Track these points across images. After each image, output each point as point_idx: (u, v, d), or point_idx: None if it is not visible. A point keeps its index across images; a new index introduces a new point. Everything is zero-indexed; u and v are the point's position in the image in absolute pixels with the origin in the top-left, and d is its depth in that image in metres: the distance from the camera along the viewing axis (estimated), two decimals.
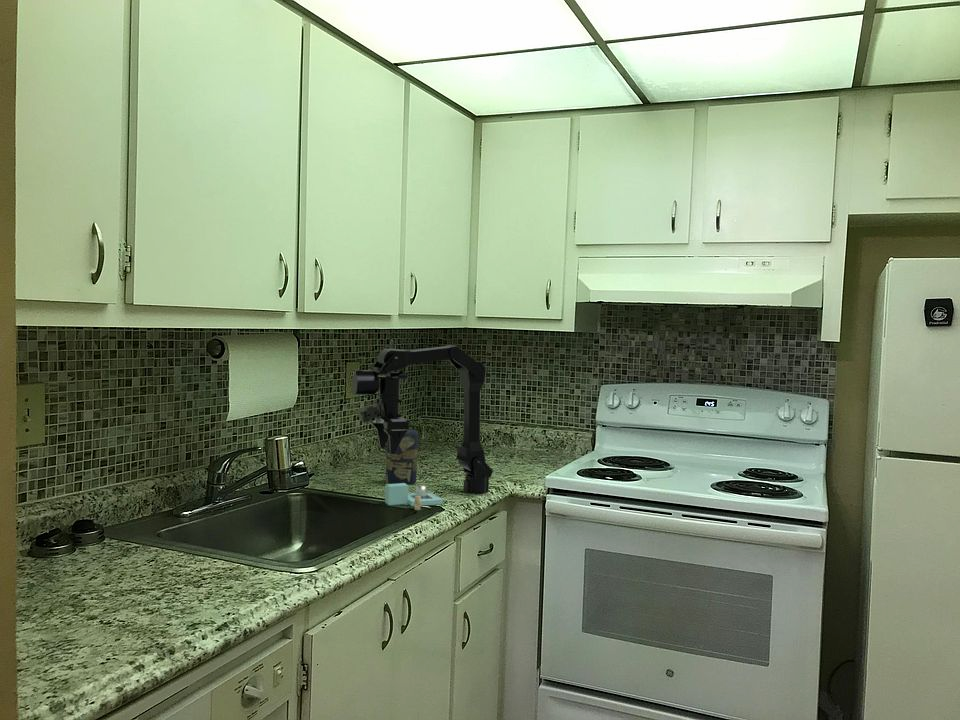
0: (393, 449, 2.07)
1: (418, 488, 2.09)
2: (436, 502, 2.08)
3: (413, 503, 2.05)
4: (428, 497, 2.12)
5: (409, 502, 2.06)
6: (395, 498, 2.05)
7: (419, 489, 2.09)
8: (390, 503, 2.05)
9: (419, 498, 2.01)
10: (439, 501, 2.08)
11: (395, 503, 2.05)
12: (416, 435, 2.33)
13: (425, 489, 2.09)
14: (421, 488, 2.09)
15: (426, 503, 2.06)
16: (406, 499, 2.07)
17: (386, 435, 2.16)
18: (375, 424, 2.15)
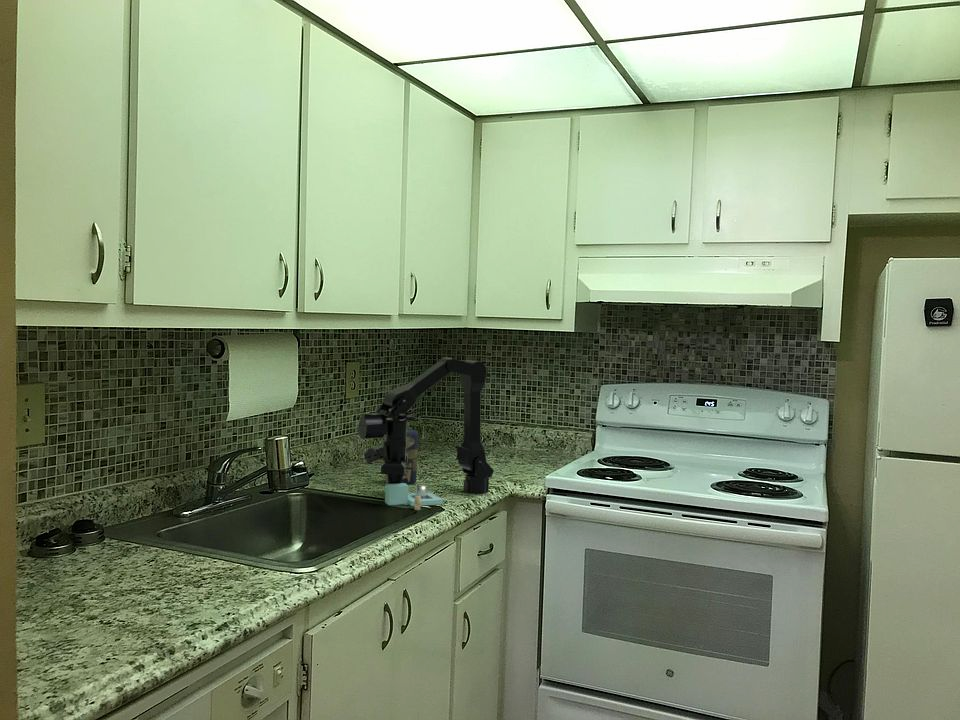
0: None
1: (418, 488, 2.09)
2: (436, 502, 2.08)
3: (413, 503, 2.05)
4: (428, 497, 2.12)
5: (409, 502, 2.06)
6: (395, 498, 2.05)
7: (419, 489, 2.09)
8: (390, 503, 2.05)
9: (419, 498, 2.01)
10: (439, 501, 2.08)
11: (395, 503, 2.05)
12: (416, 435, 2.33)
13: (425, 489, 2.09)
14: (421, 488, 2.09)
15: (426, 503, 2.06)
16: (406, 499, 2.07)
17: None
18: None
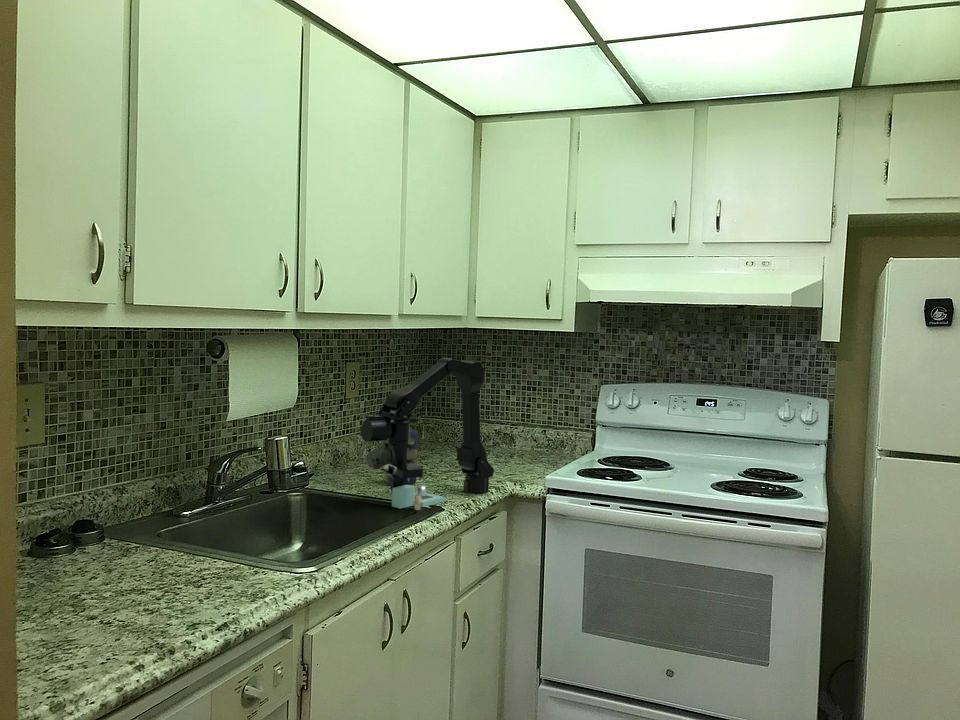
0: None
1: (418, 488, 2.09)
2: (439, 500, 2.10)
3: (423, 504, 2.04)
4: None
5: None
6: (404, 500, 2.03)
7: (419, 489, 2.09)
8: (401, 506, 2.02)
9: (419, 498, 2.01)
10: (442, 499, 2.11)
11: (405, 506, 2.03)
12: (416, 435, 2.33)
13: (425, 489, 2.09)
14: (421, 488, 2.09)
15: (432, 502, 2.07)
16: (413, 500, 2.06)
17: None
18: (388, 472, 2.05)
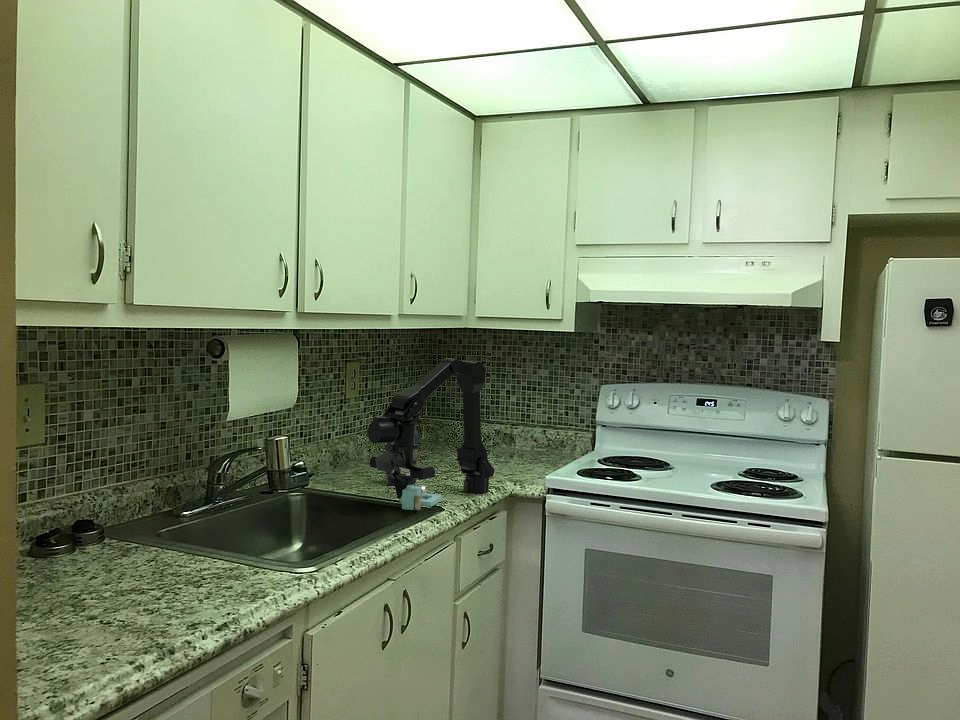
0: (400, 493, 2.04)
1: None
2: (439, 499, 2.12)
3: (431, 503, 2.05)
4: None
5: (424, 503, 2.05)
6: None
7: None
8: (413, 507, 2.01)
9: (419, 498, 2.01)
10: (441, 497, 2.13)
11: None
12: (416, 435, 2.33)
13: (425, 489, 2.09)
14: (421, 488, 2.09)
15: (436, 501, 2.09)
16: None
17: None
18: (394, 474, 2.03)
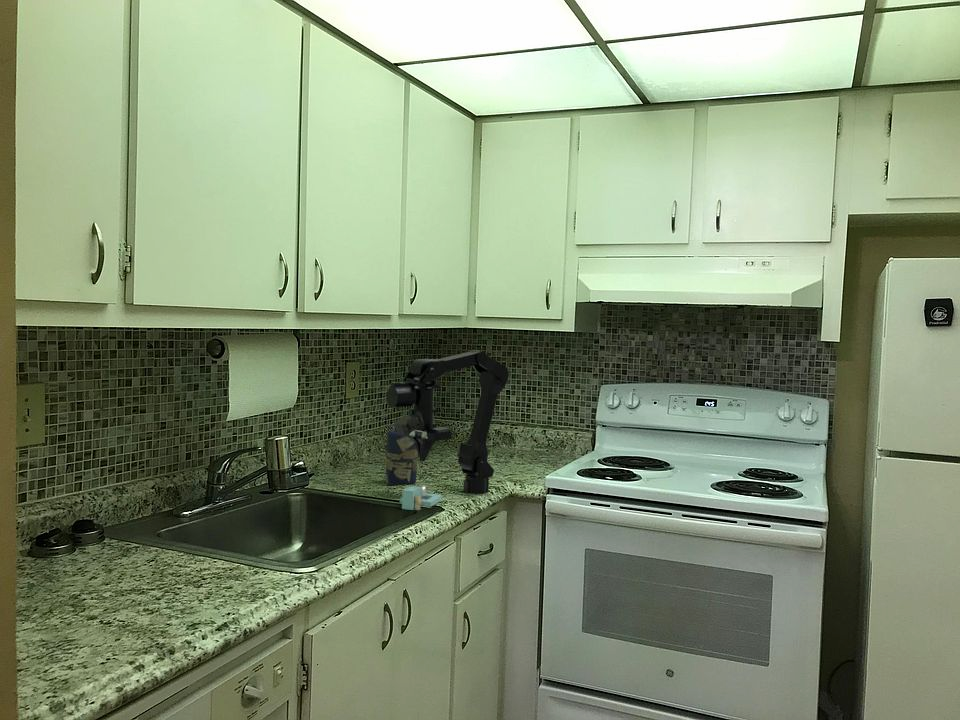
0: (424, 456, 2.12)
1: None
2: (439, 499, 2.12)
3: (431, 503, 2.05)
4: None
5: (424, 503, 2.05)
6: None
7: None
8: (413, 507, 2.01)
9: (419, 498, 2.01)
10: (441, 497, 2.13)
11: None
12: None
13: (425, 489, 2.09)
14: (421, 488, 2.09)
15: (436, 501, 2.09)
16: None
17: None
18: (415, 437, 2.11)
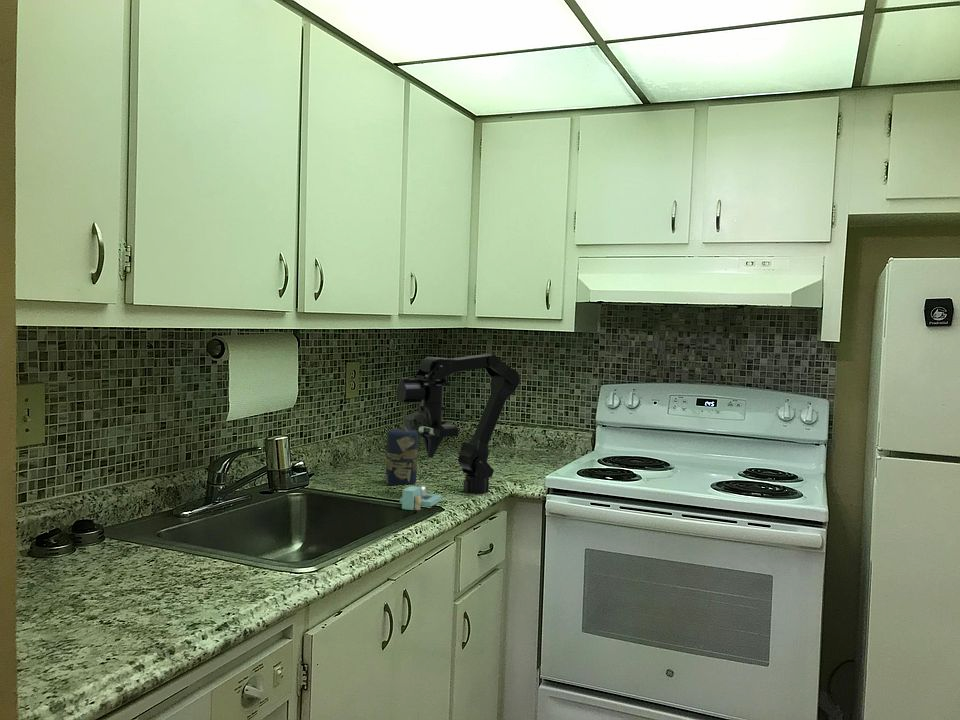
0: (431, 453, 2.15)
1: None
2: (439, 499, 2.12)
3: (431, 503, 2.05)
4: None
5: (424, 503, 2.05)
6: None
7: None
8: (413, 507, 2.01)
9: (419, 498, 2.01)
10: (441, 497, 2.13)
11: None
12: (416, 435, 2.33)
13: (425, 489, 2.09)
14: (421, 488, 2.09)
15: (436, 501, 2.09)
16: None
17: None
18: (423, 433, 2.14)
